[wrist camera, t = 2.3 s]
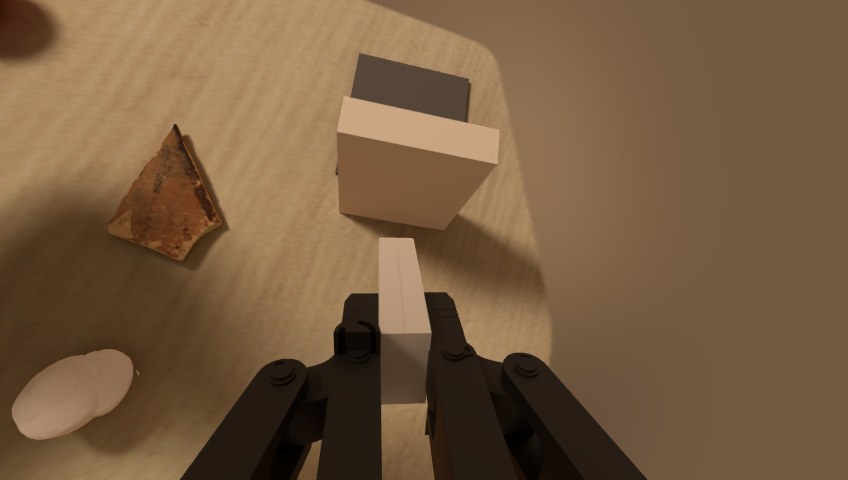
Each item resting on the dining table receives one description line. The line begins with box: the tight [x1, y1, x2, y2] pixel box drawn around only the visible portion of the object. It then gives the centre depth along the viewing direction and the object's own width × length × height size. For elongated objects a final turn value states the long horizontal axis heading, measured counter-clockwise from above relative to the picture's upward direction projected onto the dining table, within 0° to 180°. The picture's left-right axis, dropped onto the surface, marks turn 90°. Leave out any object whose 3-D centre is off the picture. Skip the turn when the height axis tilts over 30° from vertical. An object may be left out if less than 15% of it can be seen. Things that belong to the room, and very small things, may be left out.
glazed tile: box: [337, 96, 499, 231], centre depth 31 cm, size 10×3×14 cm, turn 83°
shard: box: [108, 124, 222, 261], centre depth 33 cm, size 11×8×2 cm
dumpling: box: [11, 345, 140, 440], centre depth 27 cm, size 7×5×4 cm
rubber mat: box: [336, 53, 469, 175], centre depth 40 cm, size 12×14×1 cm
